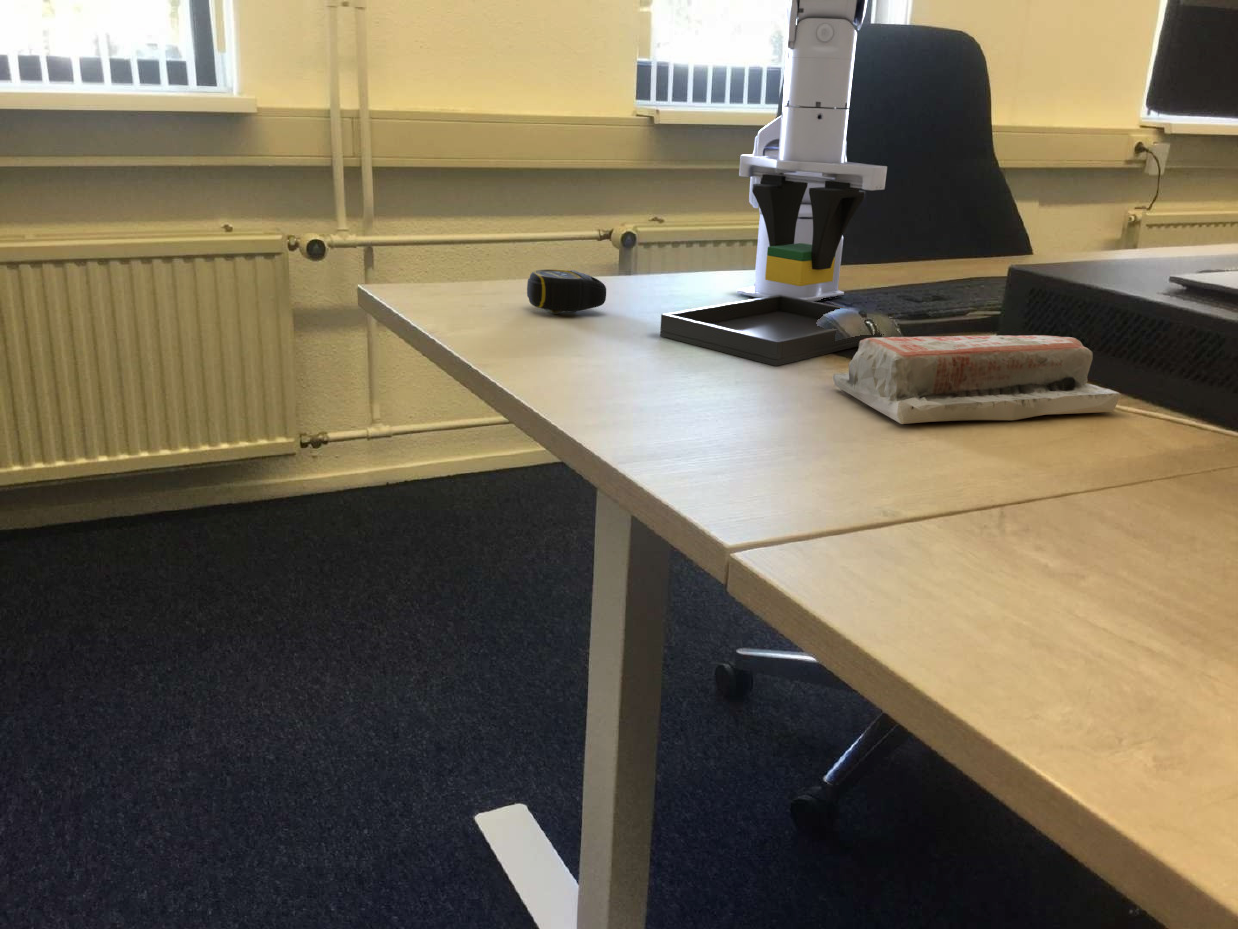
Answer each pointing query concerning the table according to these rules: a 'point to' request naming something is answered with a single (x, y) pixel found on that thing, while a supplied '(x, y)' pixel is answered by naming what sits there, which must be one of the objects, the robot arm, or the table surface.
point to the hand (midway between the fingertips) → (800, 265)
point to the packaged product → (974, 378)
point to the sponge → (795, 265)
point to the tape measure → (564, 290)
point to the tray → (760, 329)
